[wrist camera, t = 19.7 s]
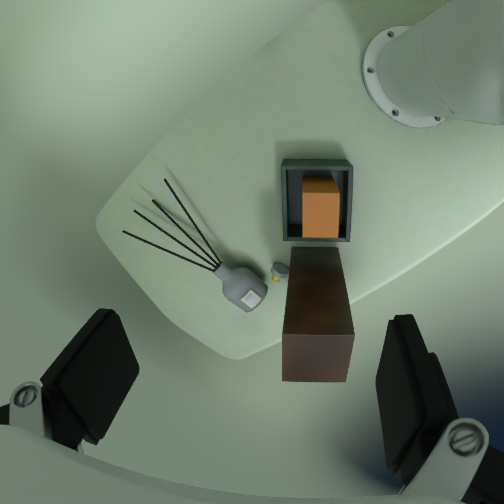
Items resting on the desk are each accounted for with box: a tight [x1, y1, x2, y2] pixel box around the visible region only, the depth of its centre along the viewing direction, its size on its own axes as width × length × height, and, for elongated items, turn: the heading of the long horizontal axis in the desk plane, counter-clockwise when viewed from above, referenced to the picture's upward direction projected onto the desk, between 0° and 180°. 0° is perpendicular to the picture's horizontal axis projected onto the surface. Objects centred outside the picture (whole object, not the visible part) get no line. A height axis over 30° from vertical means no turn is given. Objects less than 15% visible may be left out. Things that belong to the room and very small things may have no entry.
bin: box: [281, 159, 353, 242], centre depth 35 cm, size 8×8×4 cm
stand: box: [282, 247, 355, 382], centre depth 33 cm, size 6×6×17 cm
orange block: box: [302, 175, 340, 238], centre depth 33 cm, size 4×4×8 cm
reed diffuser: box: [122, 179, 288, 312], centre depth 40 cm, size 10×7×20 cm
